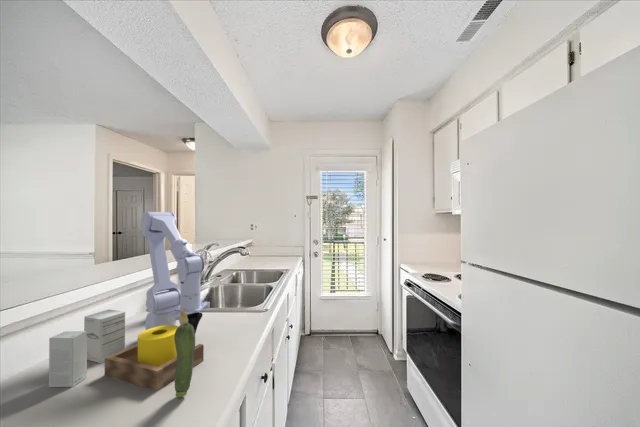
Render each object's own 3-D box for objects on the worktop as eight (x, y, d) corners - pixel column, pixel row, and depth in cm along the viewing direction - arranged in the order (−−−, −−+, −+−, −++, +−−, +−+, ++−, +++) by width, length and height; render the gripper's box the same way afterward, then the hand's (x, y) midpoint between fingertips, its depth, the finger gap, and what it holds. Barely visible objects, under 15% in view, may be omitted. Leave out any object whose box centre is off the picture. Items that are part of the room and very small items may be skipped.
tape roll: (145, 360, 78) (145, 327, 78) (183, 355, 81) (183, 323, 81) (131, 379, 68) (131, 342, 69) (174, 373, 71) (174, 337, 71)
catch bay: (104, 375, 70) (104, 358, 70) (155, 350, 84) (155, 335, 84) (157, 390, 64) (157, 371, 64) (203, 360, 77) (203, 344, 77)
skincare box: (87, 377, 70) (88, 330, 70) (72, 387, 65) (72, 337, 66) (64, 377, 70) (64, 330, 70) (47, 387, 65) (48, 338, 66)
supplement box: (82, 360, 79) (83, 316, 79) (109, 348, 86) (110, 308, 86) (99, 364, 76) (99, 319, 76) (126, 352, 83) (126, 310, 83)
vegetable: (179, 389, 64) (179, 304, 65) (198, 388, 64) (198, 304, 65) (170, 401, 60) (170, 310, 60) (190, 400, 60) (190, 310, 60)
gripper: (180, 302, 77) (180, 349, 77) (216, 289, 91) (217, 330, 90) (163, 299, 80) (162, 346, 79) (200, 288, 93) (200, 327, 93)
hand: (190, 337), depth 85 cm, fingers closed
